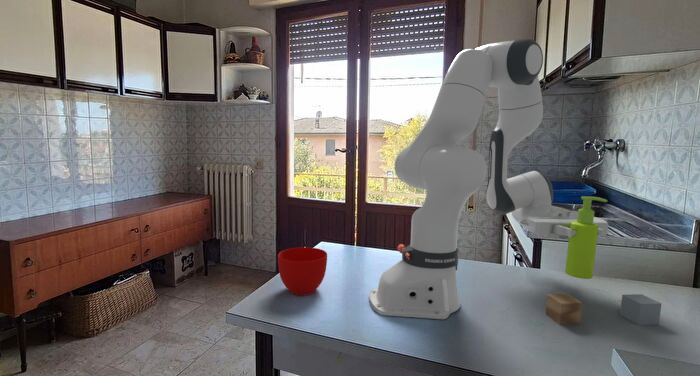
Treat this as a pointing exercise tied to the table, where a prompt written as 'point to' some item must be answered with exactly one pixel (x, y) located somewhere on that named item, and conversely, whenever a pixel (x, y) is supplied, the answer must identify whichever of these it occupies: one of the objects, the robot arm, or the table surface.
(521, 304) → the table surface
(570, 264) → the soap dispenser
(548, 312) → the walnut block
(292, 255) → the ceramic cup
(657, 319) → the slate-grey block
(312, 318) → the table surface
